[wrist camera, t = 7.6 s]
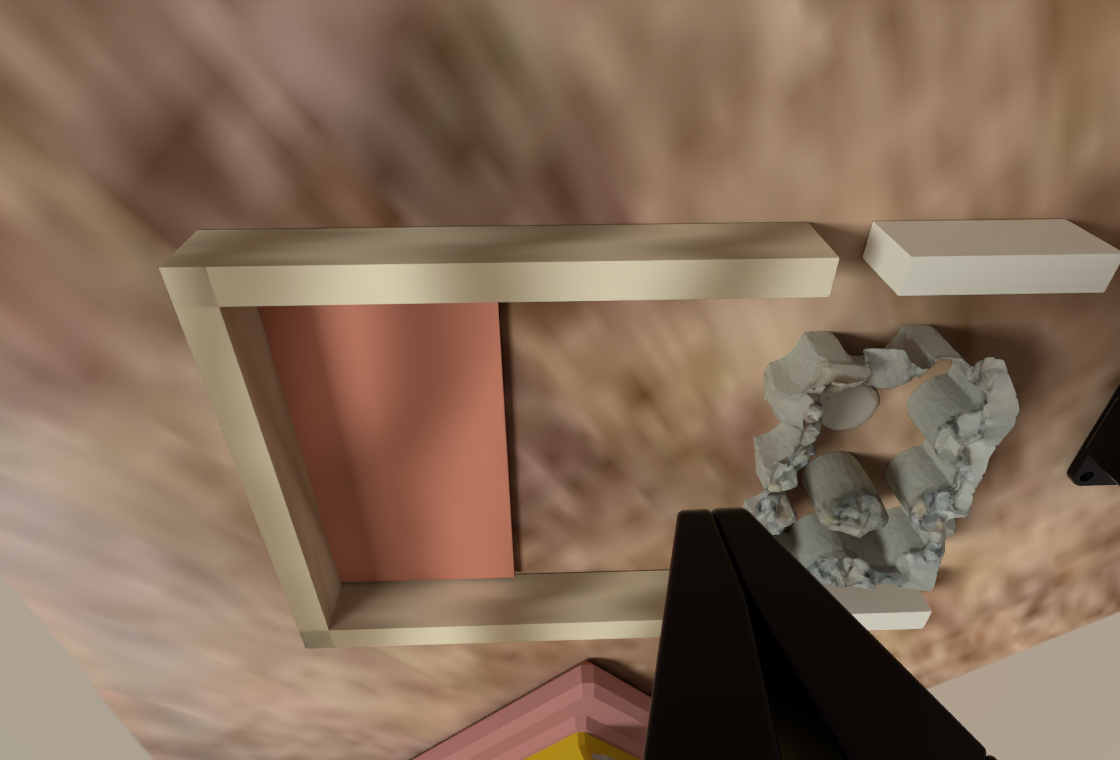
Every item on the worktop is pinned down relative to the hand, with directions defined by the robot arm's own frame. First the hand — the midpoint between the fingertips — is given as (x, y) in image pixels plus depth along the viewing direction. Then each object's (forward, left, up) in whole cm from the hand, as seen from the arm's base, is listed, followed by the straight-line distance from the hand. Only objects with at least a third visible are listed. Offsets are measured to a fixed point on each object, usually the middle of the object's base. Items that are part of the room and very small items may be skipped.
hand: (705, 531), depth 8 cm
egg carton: (-10, +10, -14) cm, 20 cm away
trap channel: (+3, +10, -13) cm, 17 cm away
